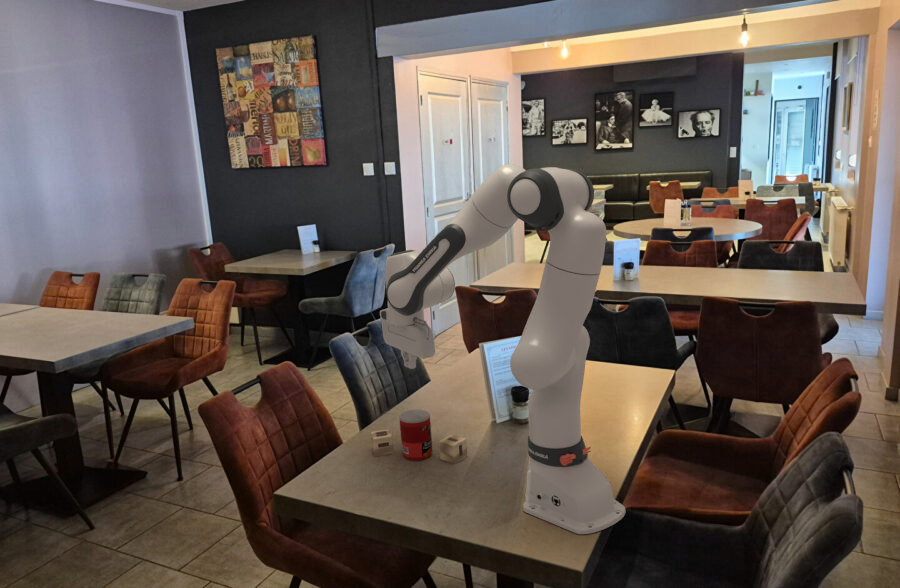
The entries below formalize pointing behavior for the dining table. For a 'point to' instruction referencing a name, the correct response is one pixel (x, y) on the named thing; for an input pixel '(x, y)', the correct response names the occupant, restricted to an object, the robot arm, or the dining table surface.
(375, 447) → the marked cube far
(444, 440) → the marked cube near
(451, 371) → the dining table surface
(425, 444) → the canned food
